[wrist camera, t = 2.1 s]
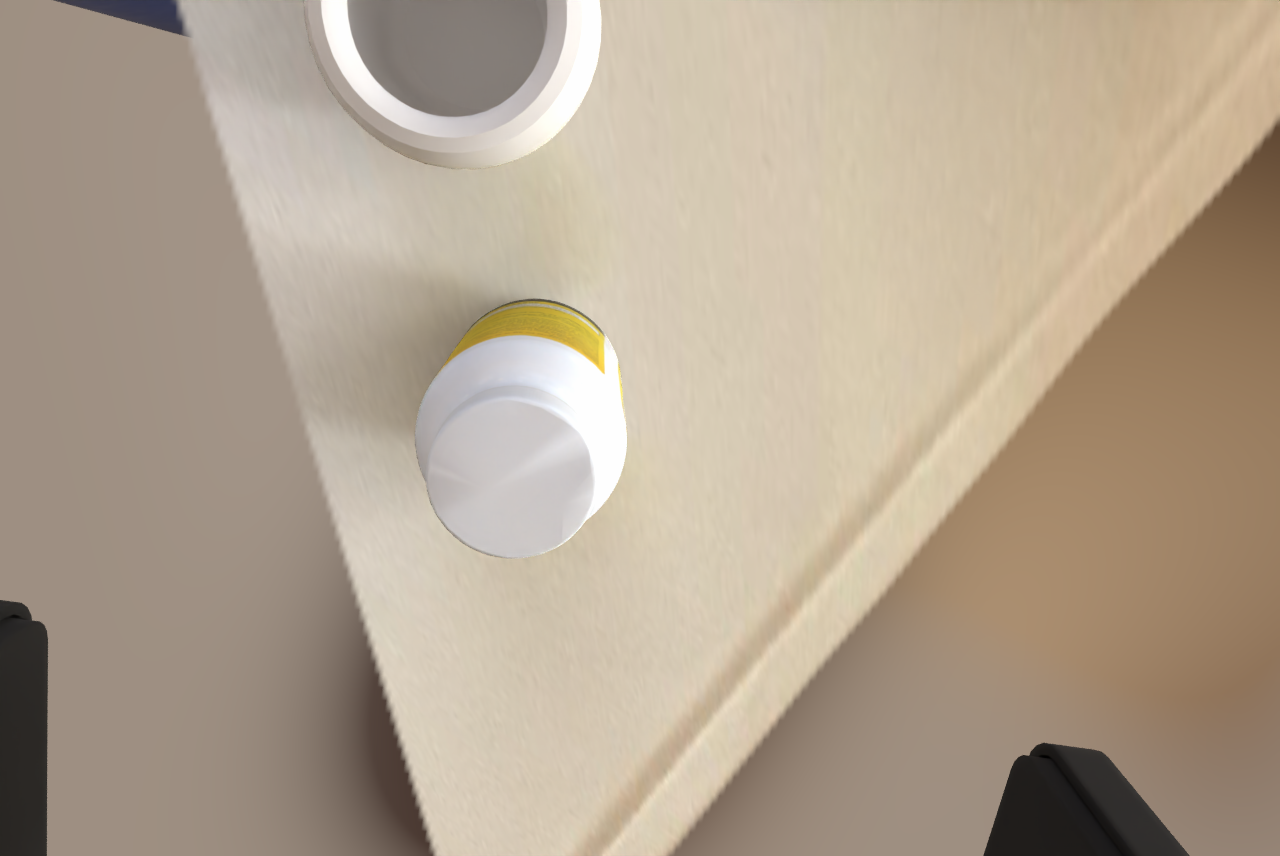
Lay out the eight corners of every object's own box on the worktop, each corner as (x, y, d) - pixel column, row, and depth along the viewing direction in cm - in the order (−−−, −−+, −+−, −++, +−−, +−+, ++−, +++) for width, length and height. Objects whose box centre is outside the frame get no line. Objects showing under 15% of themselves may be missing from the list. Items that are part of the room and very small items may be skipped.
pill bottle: (441, 305, 36) (368, 376, 25) (612, 286, 36) (615, 348, 25) (468, 468, 38) (411, 601, 27) (630, 449, 38) (642, 575, 27)
